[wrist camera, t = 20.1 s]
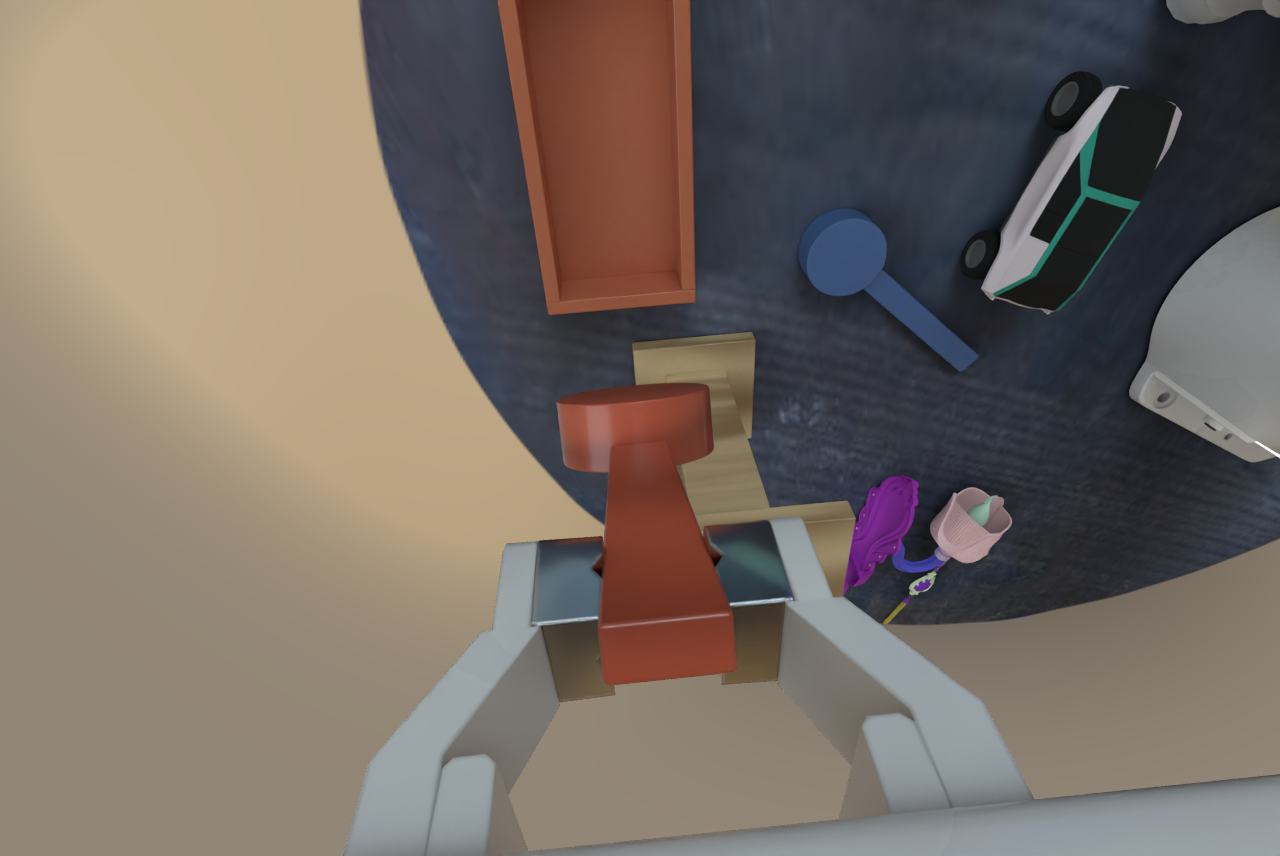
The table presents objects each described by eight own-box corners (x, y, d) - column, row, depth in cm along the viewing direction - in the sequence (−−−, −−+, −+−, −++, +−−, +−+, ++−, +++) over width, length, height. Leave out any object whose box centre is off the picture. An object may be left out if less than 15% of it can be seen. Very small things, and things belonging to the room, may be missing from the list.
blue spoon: (993, 334, 45) (1008, 348, 44) (937, 382, 47) (949, 398, 46) (839, 191, 39) (850, 201, 37) (782, 254, 41) (790, 266, 39)
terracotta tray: (688, 277, 41) (696, 302, 38) (551, 289, 41) (548, 315, 38) (679, -102, 30) (688, -108, 28) (492, -87, 30) (482, -92, 27)
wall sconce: (812, 649, 59) (927, 514, 45) (797, 590, 63) (898, 450, 50) (910, 653, 61) (1049, 525, 47) (889, 596, 65) (1010, 463, 52)
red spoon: (873, 660, 8) (866, 497, 8) (468, 702, 8) (443, 540, 7) (704, 434, 24) (699, 378, 23) (569, 448, 23) (563, 391, 23)
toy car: (949, 271, 42) (990, 307, 38) (1065, 65, 36) (1130, 81, 31) (1027, 291, 43) (1075, 329, 39) (1153, 96, 37) (1228, 115, 33)
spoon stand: (617, 343, 44) (631, 539, 29) (767, 329, 44) (856, 518, 29) (626, 439, 48) (643, 649, 34) (762, 427, 49) (836, 631, 34)
